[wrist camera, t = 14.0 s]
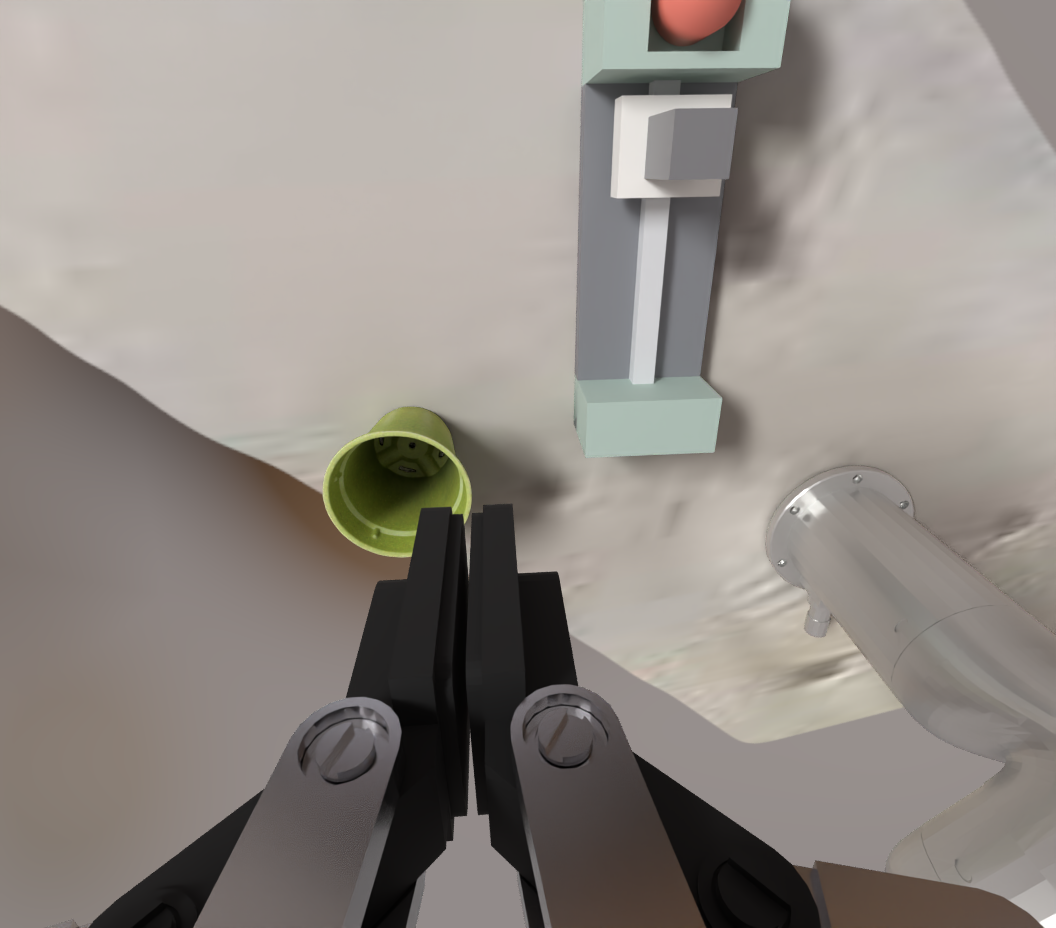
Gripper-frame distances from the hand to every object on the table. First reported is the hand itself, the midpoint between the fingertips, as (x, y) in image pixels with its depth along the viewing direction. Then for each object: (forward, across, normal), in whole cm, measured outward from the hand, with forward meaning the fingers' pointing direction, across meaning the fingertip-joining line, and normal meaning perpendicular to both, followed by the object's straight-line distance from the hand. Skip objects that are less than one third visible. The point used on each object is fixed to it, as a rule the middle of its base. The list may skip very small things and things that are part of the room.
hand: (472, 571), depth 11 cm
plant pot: (+32, +6, +12) cm, 35 cm away
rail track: (+32, -11, -3) cm, 34 cm away
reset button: (+27, -11, -14) cm, 32 cm away
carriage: (+29, -11, -8) cm, 32 cm away
